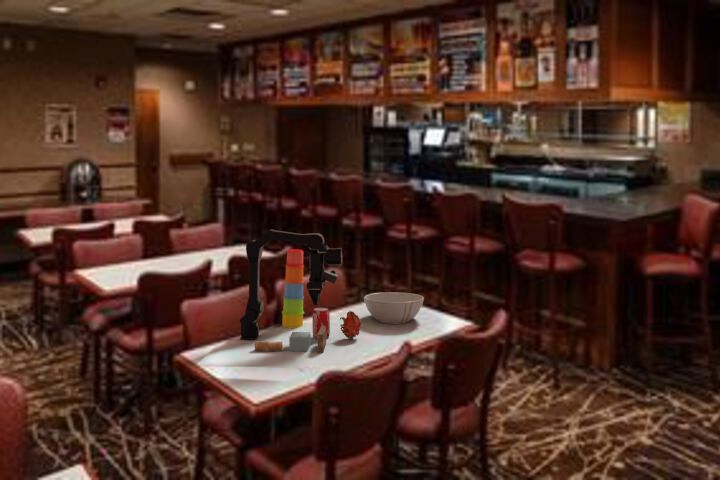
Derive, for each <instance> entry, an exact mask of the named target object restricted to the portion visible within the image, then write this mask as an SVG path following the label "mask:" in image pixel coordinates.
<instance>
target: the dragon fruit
mask: <svg viewBox="0 0 720 480" xmlns="http://www.w3.org/2000/svg"><path fill="white" fill-rule="evenodd" d="M348 310H349V311H347V313H346V317H344V316H342V317H339V320H342V321H343V324H342V323H341V324H340V331H341V332H342V334H343V336H345V338H347V339H350V340H351V339H354V338H356V337H357V336H359V335H360V331H361V326H362V321H361V320H360V317H359V315H357V314H356V313H355V312H354V311H352V310H350V309H348Z"/></svg>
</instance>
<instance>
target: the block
mask: <svg viewBox="0 0 720 480" xmlns="http://www.w3.org/2000/svg"><path fill="white" fill-rule="evenodd" d="M288 341H289V345H288V347H289V352H309V349H310V348H311V331H310V332H308V331H293V332H292V333H291V334H290V336H289V340H288Z"/></svg>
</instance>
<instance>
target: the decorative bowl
mask: <svg viewBox="0 0 720 480" xmlns="http://www.w3.org/2000/svg"><path fill="white" fill-rule="evenodd" d="M424 300H425V297H424V296H423V295H420V294H417V293H409V292H396V291H395V292H375V293H369V294H366V295H365V296H363V301H364V304H365V307H366V309H367V311H368V312H369V313H370V315H371V316H372V317H373V318H374V319H376V321H378V322H380V323H384V324H390V323H392V324H394V325H396V324H404V323H408V322H410V321H412V320H413V319H414V318H415V317H416V316H417V315H418V313H420V310H421V308H422V306H423V303H424Z"/></svg>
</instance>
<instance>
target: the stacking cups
mask: <svg viewBox="0 0 720 480" xmlns="http://www.w3.org/2000/svg"><path fill="white" fill-rule="evenodd" d="M304 268H305V265H304V251H303V249H297V248H294V249H293V248H290V249H287V253H286V264H285V279H284V280H283V282H284V294H283V296H282V298H283V308H282V309H283V310H282V311H281V314H282V322H281V323H282V324H281V325H282V327H284V328H288V329H289V328H290V329H291V328H292V329H295V328H301V327H303V325H304V314H305V311H304V299H305V296H304V283H305V281H304Z"/></svg>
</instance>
